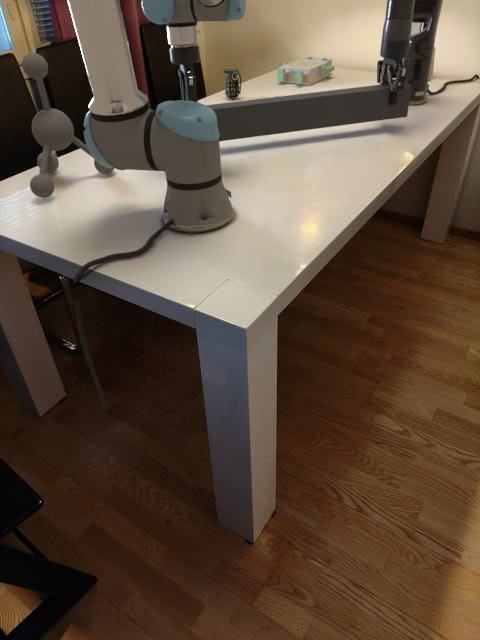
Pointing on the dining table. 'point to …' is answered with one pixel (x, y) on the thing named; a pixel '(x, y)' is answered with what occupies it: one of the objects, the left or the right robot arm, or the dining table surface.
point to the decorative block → (305, 71)
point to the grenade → (232, 83)
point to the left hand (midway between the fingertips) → (193, 139)
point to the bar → (308, 111)
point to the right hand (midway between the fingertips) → (387, 102)
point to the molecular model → (50, 130)
